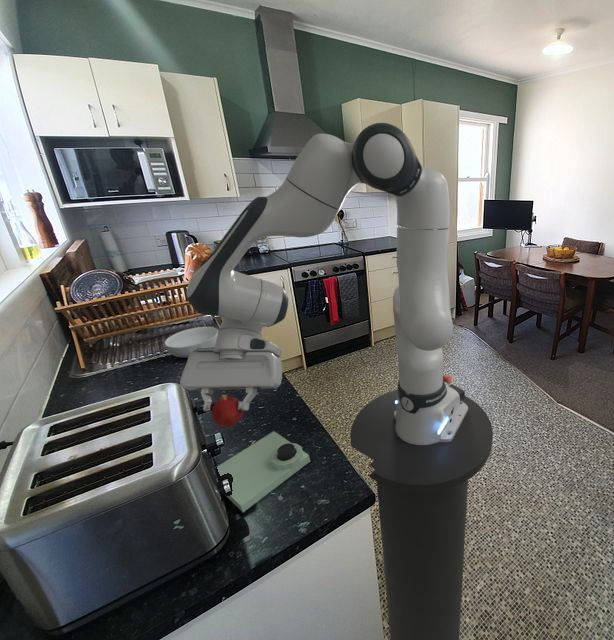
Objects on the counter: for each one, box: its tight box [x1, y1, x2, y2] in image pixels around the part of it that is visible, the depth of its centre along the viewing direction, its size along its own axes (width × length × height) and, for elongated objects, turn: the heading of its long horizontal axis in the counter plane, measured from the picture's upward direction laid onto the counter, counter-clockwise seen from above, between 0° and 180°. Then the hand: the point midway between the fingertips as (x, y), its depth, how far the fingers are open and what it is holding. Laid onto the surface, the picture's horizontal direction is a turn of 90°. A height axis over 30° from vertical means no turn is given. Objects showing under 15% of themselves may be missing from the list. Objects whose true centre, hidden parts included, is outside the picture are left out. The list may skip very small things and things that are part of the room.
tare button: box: [277, 442, 295, 461], centre depth 77 cm, size 4×4×2 cm
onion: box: [211, 394, 245, 428], centre depth 72 cm, size 6×6×8 cm
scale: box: [216, 430, 311, 513], centre depth 77 cm, size 16×14×4 cm
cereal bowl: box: [164, 326, 219, 359], centre depth 127 cm, size 17×17×7 cm
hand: (226, 410), depth 72 cm, fingers closed on onion, 6 cm apart
